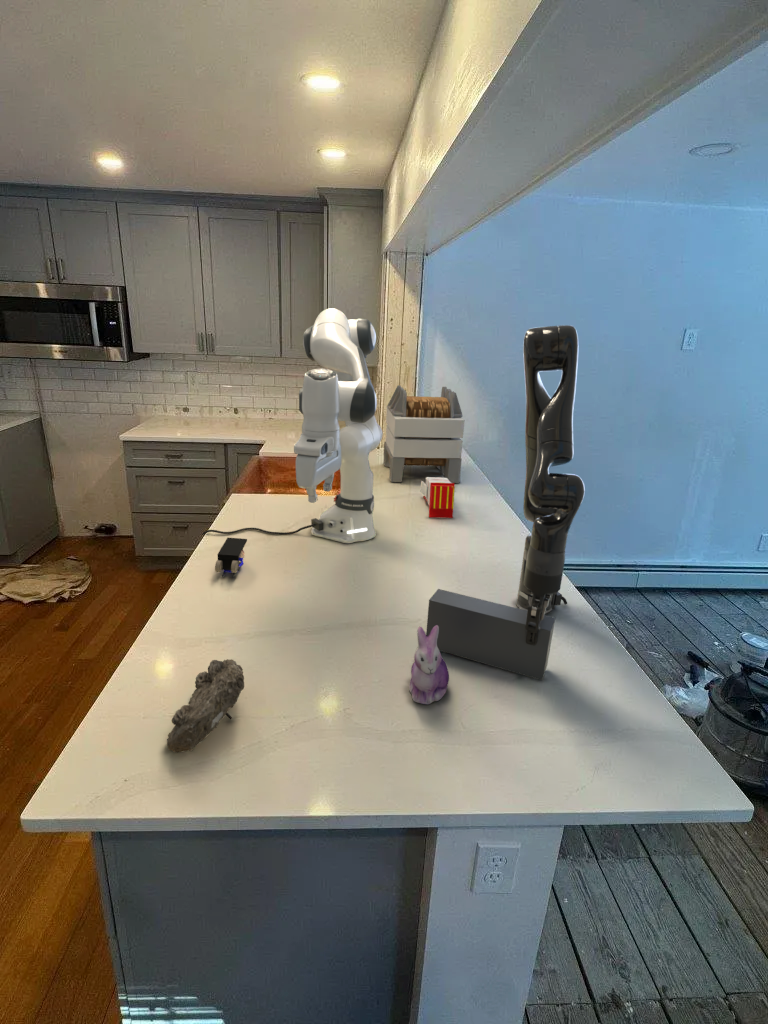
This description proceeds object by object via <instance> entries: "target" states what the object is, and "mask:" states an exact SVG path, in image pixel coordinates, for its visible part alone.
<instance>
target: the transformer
mask: <svg viewBox="0 0 768 1024" xmlns="http://www.w3.org/2000/svg"><path fill="white" fill-rule="evenodd" d="M440 393H441V394H440V396H415V395H414V396H413V395H412V396H411V395H407V394H408V393H407V390H406V389H404V388H403V387H402V385H399V384H398V385H397V386H396V388H395V390H394V392H393V394H392V395H391V398H390V400H389V402H388V404H387V405H386V413H385V414H386V415H385V423H386V428H385V438H384V442H383V466H384V467H388V468H389V475H388V476H389V477H388V478H389V480H390V482H391V483H402V482H403V475H404V469H405V466H406V467H407V466H411V467H412V466H413V467H415V466H416V467H417V466H418V467H436V468H437V470H438V469H439V473H440V474H441V475H443V476H442V477H443V478H447V479H448V480H449V481H450V482H451V483H456V484H459V483H461V472H462V461H463V460H462V453H463V442H464V441H463V440H462V439H463V438H464V431H465V430H464V429H465V419H464V418H463V411H462V408H461V405H460V402H459V398H458V395H457V392H455V391H453V390H452V389H451V388H447V386H442V387H441V392H440Z"/></svg>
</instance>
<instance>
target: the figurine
mask: <svg viewBox="0 0 768 1024" xmlns="http://www.w3.org/2000/svg"><path fill="white" fill-rule="evenodd" d="M416 633H417V634H416V635H417V648H416V650H415V652H414V656H413V658H414V662H413V663H412V665H411V668H410V669H411V670H410V675H411V677H410V680H409V684H408V685H409V687H408V690H409V693H410V694H411V698H412V701H413V702H414V703H418V704H422V705H430V704H433V702H438V701H440V700H441V699H443V697H444V696H445V694H446V693H447V690H448V685H449V681H450V673H449V668H448V665H447V663H446V661H445V659H444V658H443V657H442V654H441V651H439V649H438V647H437V638H438V633H439V627H438V625H436V626H434V627H433V629H432V630H431V632H430V634H429V636H427V635H426V632H425V630H424V628H423V627H422V626H418V627H417V631H416Z"/></svg>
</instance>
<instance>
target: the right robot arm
mask: <svg viewBox="0 0 768 1024" xmlns="http://www.w3.org/2000/svg"><path fill="white" fill-rule="evenodd" d="M577 331H578V330H577V329H576V327H575V326H574V325H571V324H560V325H559V324H558V325H552V326H551V325H548V326H537V327H530V328H528V329H527V330H526V331H525V333H524V337H523V343H522V344H523V345H522V351H523V352H522V354H523V371H524V385H525V387H524V388H525V422H524V423H525V424H524V425H525V426H524V440H525V441H524V442H525V445H524V446H525V447H524V448H525V480H524V493H523V494H524V495H523V516H524V518H525V520H527V521H528V522H532V529H531V533H529V534H528V535H527V536H526V537H525V540H524V548H523V555H522V561H521V562H522V563H521V568H520V569H521V570H520V577H519V583H518V591H517V598H516V601H515V603H516V606H517V607H516V608H518V609H522V610H526V611H528V612H527V621H526V626H525V628H526V629H525V630H527V636H526V643H527V644H529V645H533V646H535V645H536V643H537V637H538V631H539V630H540V623H541V620H543V619H544V615H547V614H549V613H551V612H552V610H555V608H556V607H557V606H561V604H562V602H563V604H564V605H568V601H567V599H566V598H565V597H564V596H563V594H562V593H561V592H560V590H561V587H562V579H563V575H564V568H565V561H566V548H567V543H568V538H569V537H568V535H569V532H570V528H571V526H572V524H573V521H574V519H575V517H576V515H577V514H578V511H579V510H580V507H581V505H582V503H583V501H584V498H585V492H586V487H585V482H584V481H583V479H582V478H581V476H579V475H577V474H574V473H556V472H550V469H551V468H552V467H558V466H564V465H567V464H568V463H570V462H572V460H573V458H574V455H575V454H574V453H575V452H574V410H575V409H574V407H575V400H576V392H577V391H576V390H577V377H578V364H579V335H578V332H577ZM558 371H561V376H560V380H559V383H558V385H557V388H556V390H555V391H554V393H553V394H552V396H551V395H549V393H548V391H547V390H546V388H545V386H544V384H543V381H542V378H541V375H540V373H542V372H543V373H544V372H545V373H546V372H558ZM540 614H542V615H541V616H540ZM531 622H533V623H536V625H535V624H531Z"/></svg>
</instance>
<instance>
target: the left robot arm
mask: <svg viewBox="0 0 768 1024" xmlns="http://www.w3.org/2000/svg"><path fill="white" fill-rule="evenodd" d="M302 335H303V338H302V348H303V349H304V350H303V351H304V352H305V355H306V356H307V358H308V359H309V360H310V361H312V362H315V363H316V364H318V365H319V367H320V366H321V367H322V368H313V369H309V370H307V371H306V372H305V373H304V375H303V383H302V387H301V388H300V389H299V391H298V411H299V412H300V413H301V414H302V416H303V417H302V419H303V420H302V424H301V434H300V436H299V438H298V440H297V441H296V442H295V444H294V445H293V454H295V455H296V457H295V480H296V484H297V486H298V488H300V489H305V491H306V494H307V498H308V499H307V500H308V502H309V503H310V504H315V503H317V502H318V500H319V499H318V497H319V495H318V493H317V487H318V485H320V484H321V483H322V482H324V483H323V485H322V487H323V488H322V490H323V491H324V492H331V491H332V489H333V481H334V478H335V473H336V472H338V471H339V473H340V475H339V476H340V488H339V489H340V490H339V491H338V492H337V494H336V495H335V496H334V497H333V502H334V504H333V505H331V506H329V507H328V508H326V509H325V510H323V512H321V514H320V515H319V517H318V518H316V517H315V518H311V519H310V520H311V521H310V522H311V523H310V524H308V525H305V526H303V527H300V528H298V529H297V530H294V531H286V532H281V531H280V532H279V531H268V530H265V529H262V528H260V527H259V528H258V527H244V528H239V529H237V530H232V531H221V530H218V529H208V530H205V531H204V532H202V534H201V535H203V536H205V535H206V534H207V533H215V534H222V535H231V534H237V533H240V532H243V531H258V532H261V533H264V534H268V535H278V536H279V535H284V536H285V535H294V534H296V533H299V532H300V531H303V530H306V529H309V528H311V530H310V533H311V536H315V537H319V538H323V539H326V540H330V541H336V542H339V543H343V544H352V543H357V542H365V541H368V540H372V539H373V538H375V537H376V535H377V532H376V528H375V523H374V513H373V512H374V509H375V496H374V473H373V471H372V469H371V465H370V460H369V455H370V453H371V452H372V451H374V450H376V449H377V448H378V447H379V445H380V444H381V442H382V440H383V435H384V433H383V430H382V427H381V425H380V424H379V423H378V422H377V418H376V416H375V414H376V412H377V411H376V410H377V407H378V399H377V394H376V391H375V388H374V385H373V383H372V381H371V377H370V372H369V368H368V365H367V361H366V359H367V357H368V355H370V354H371V353H373V351H374V349H375V347H376V342H377V333H376V330H375V327H374V325H373V323H372V321H371V320H369V319H368V318H359V317H357V319H348V317H347V316H346V314H345V313H343V311H341V310H340V309H337V308H333V307H332V308H331V307H330V308H325V309H324V310H322V311H321V312H320V313H318V315H317V317H316V318H315V321H314V322H313V325H311V326H309V327H307V328H306V330H305V331H304V332H303V334H302ZM340 422H344V424H345V426H344V427H341V428H340Z"/></svg>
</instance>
